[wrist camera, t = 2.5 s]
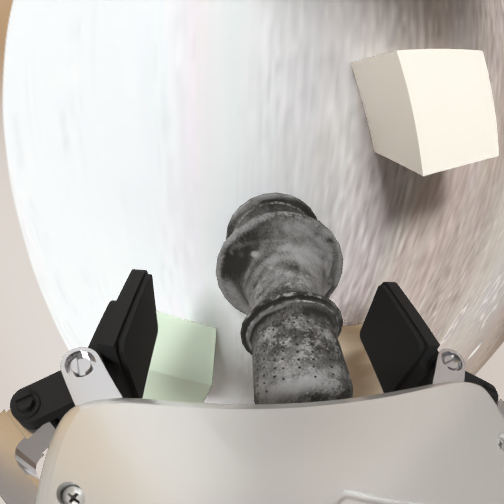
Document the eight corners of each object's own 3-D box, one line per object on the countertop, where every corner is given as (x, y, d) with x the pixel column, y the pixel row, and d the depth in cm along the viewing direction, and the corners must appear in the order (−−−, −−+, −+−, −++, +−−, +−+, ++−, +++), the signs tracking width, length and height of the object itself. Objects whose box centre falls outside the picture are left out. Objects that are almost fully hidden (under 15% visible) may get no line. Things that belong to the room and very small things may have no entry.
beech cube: (378, 320, 20) (402, 369, 16) (366, 361, 22) (383, 407, 18) (315, 329, 20) (330, 384, 16) (311, 370, 22) (321, 420, 18)
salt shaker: (329, 269, 17) (401, 454, 7) (236, 289, 18) (234, 487, 7) (316, 177, 15) (452, 357, 4) (207, 202, 15) (148, 420, 5)
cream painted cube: (424, 55, 11) (482, 50, 7) (441, 135, 13) (498, 155, 9) (349, 63, 12) (396, 50, 7) (373, 151, 14) (423, 176, 10)
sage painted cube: (216, 327, 20) (211, 385, 15) (199, 367, 22) (193, 419, 17) (147, 306, 19) (127, 362, 14) (140, 350, 21) (124, 401, 16)
